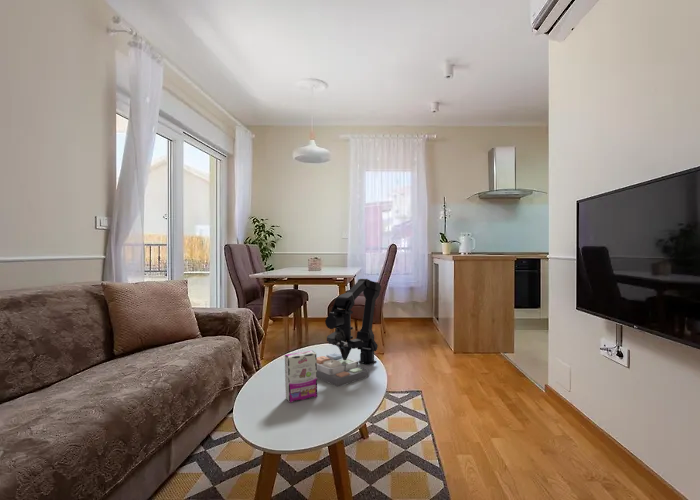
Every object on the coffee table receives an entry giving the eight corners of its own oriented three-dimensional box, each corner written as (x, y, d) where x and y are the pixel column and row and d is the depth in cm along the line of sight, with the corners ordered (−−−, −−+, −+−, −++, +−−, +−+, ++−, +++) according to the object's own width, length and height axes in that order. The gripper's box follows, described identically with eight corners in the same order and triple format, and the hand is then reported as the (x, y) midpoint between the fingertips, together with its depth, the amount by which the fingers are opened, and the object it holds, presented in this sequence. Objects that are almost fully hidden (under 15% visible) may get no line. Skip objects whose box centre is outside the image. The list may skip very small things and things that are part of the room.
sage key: (345, 363, 166) (345, 358, 166) (353, 366, 163) (353, 361, 163) (336, 365, 163) (336, 361, 163) (344, 368, 159) (344, 363, 159)
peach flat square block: (323, 360, 167) (323, 355, 167) (330, 362, 163) (330, 358, 163) (313, 362, 164) (313, 357, 164) (320, 365, 160) (320, 360, 160)
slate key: (335, 357, 172) (335, 352, 172) (342, 359, 168) (342, 354, 168) (326, 359, 168) (326, 354, 168) (333, 361, 164) (333, 357, 164)
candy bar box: (312, 392, 142) (312, 350, 142) (317, 397, 137) (317, 353, 137) (284, 398, 136) (284, 354, 136) (288, 403, 132) (288, 357, 132)
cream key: (333, 363, 162) (332, 359, 162) (340, 366, 158) (340, 361, 158) (323, 366, 158) (323, 361, 158) (331, 369, 154) (331, 364, 154)
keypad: (336, 365, 175) (336, 353, 175) (368, 376, 159) (368, 364, 159) (306, 373, 164) (306, 361, 164) (338, 386, 147) (338, 373, 147)
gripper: (317, 324, 164) (317, 359, 164) (344, 331, 150) (344, 369, 150) (336, 321, 172) (336, 354, 172) (363, 327, 158) (364, 363, 158)
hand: (344, 360), depth 163 cm, fingers closed
